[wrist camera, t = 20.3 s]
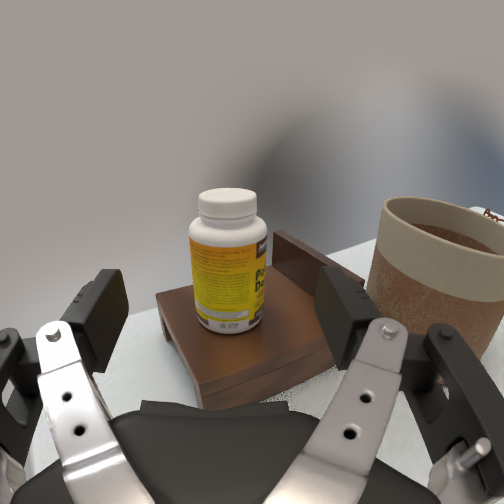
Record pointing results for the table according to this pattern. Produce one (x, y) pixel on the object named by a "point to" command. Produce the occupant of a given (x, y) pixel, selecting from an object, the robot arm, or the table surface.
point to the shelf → (255, 333)
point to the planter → (439, 269)
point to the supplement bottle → (228, 260)
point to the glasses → (492, 215)
